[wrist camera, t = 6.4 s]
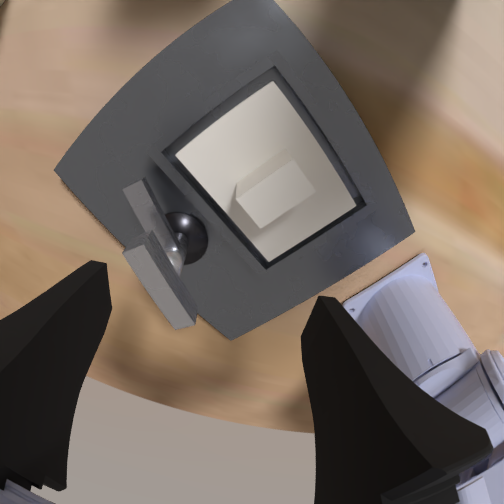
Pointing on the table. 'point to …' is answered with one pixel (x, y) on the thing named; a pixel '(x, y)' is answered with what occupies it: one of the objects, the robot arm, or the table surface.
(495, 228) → the table surface
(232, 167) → the cover
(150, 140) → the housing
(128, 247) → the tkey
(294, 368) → the table surface
